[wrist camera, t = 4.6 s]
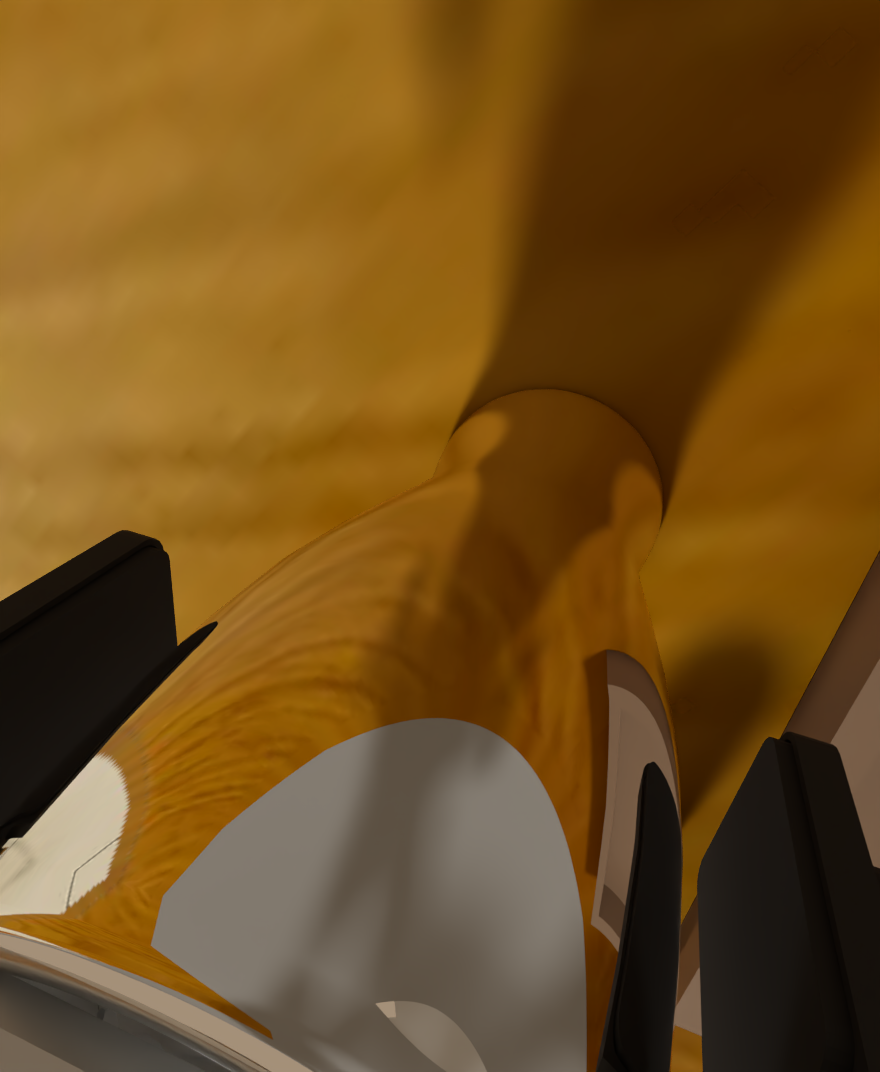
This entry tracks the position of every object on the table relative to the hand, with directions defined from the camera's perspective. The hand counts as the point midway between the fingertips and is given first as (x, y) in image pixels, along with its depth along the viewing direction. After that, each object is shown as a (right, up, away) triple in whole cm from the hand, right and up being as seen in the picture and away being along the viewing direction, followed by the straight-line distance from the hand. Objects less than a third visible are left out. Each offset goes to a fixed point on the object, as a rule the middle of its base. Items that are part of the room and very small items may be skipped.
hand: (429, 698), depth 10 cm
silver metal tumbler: (+3, +4, +8) cm, 9 cm away
